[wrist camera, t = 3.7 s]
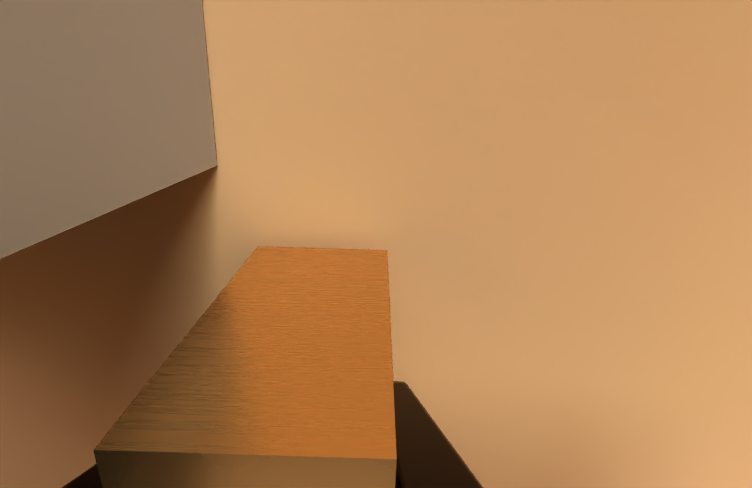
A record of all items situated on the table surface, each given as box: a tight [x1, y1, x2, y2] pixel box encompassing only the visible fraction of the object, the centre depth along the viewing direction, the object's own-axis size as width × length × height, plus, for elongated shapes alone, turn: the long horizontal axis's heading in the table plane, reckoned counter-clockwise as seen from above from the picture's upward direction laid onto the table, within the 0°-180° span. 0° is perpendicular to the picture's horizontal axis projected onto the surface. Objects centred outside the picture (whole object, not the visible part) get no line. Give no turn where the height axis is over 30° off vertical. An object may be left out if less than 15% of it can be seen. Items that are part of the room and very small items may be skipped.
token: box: [94, 246, 397, 488], centre depth 7 cm, size 5×2×5 cm, turn 178°
